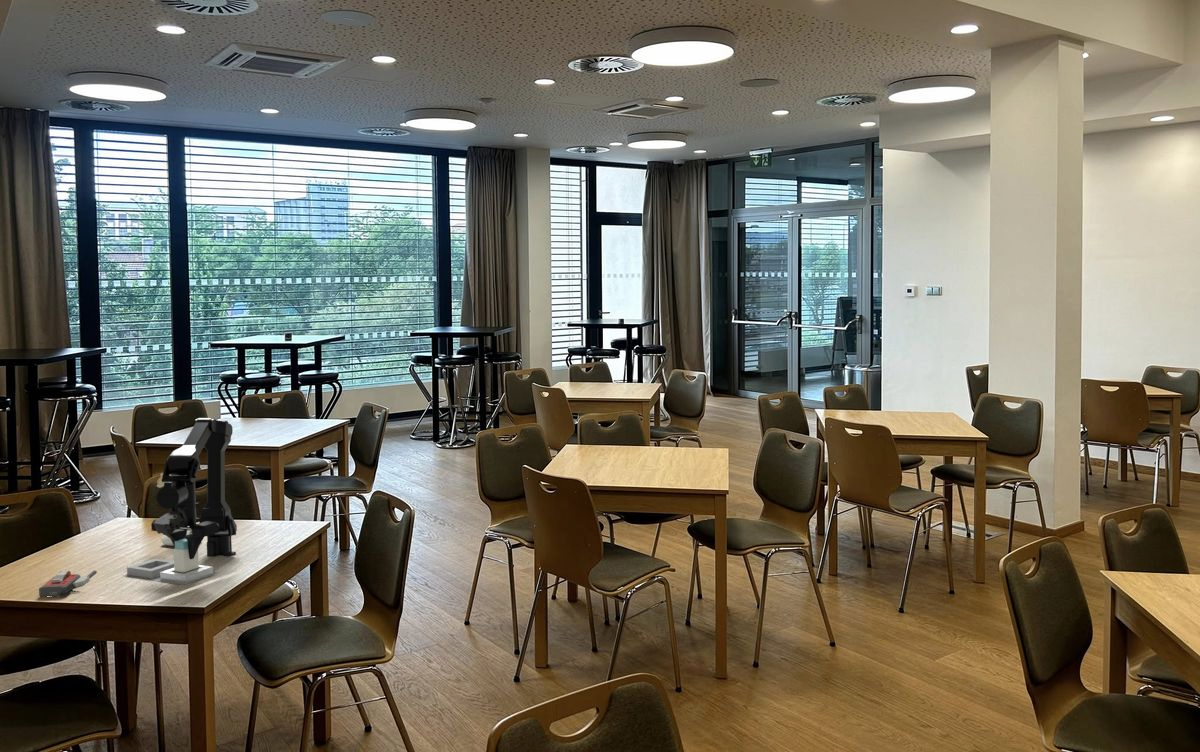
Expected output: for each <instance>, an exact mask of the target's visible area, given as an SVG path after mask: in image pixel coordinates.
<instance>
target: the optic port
mask: <svg viewBox="0 0 1200 752" xmlns="http://www.w3.org/2000/svg"><path fill="white" fill-rule="evenodd" d="M213 572H214V566H211V565H203V564H199V568H196V569H193V570H190V571H187V572H178V571H174V568H172V569H168V570H165V571H162V572H160V580H166V581H173V582H179V583H188V584H190V583H189V582H191V583H193V582H192V581H194V580H197V579H200V578H203V577H206V576H208V577H210V576H209V575H211V576H213V575H212V574H213ZM206 578H207V577H206ZM203 579H204V578H203ZM200 580H201V579H200ZM197 581H198V580H197ZM194 582H195V581H194Z"/></svg>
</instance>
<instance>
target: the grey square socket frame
mask: <svg viewBox="0 0 1200 752" xmlns="http://www.w3.org/2000/svg"><path fill="white" fill-rule="evenodd" d="M172 568H174V560H167V559H161V558H153V559H149V560H147V561H143V562H140V563H137V564H134V565H133V564H132V565H130V566H126V574H127V575H133V576H139V577H146V578H155V577H158V576H160V572H162V571H165V570H168V569H172Z"/></svg>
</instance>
